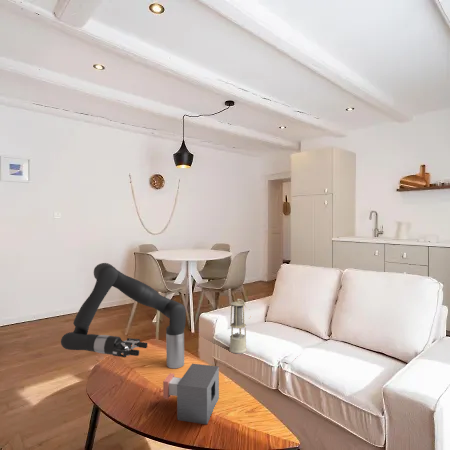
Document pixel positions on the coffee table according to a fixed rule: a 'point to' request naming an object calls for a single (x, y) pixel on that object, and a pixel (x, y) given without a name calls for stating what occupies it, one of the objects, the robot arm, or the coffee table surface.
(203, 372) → the block
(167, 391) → the plug
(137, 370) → the coffee table surface
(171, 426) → the coffee table surface
